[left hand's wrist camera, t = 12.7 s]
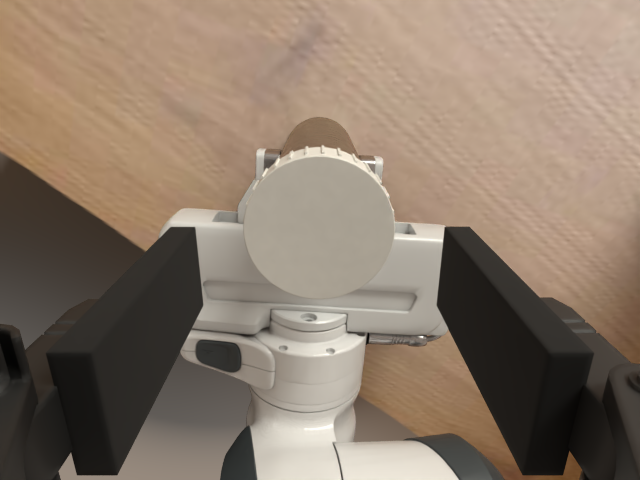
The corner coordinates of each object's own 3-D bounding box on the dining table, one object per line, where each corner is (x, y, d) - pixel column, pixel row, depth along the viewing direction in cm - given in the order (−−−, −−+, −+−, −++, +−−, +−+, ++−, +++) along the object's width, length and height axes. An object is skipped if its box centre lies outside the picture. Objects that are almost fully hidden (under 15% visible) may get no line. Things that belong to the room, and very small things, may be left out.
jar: (280, 123, 33) (239, 174, 16) (347, 111, 33) (376, 151, 16) (293, 188, 35) (268, 296, 18) (356, 177, 35) (392, 277, 18)
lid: (234, 158, 18) (224, 168, 16) (380, 133, 17) (388, 140, 15) (265, 287, 20) (259, 311, 18) (396, 267, 19) (404, 289, 17)
